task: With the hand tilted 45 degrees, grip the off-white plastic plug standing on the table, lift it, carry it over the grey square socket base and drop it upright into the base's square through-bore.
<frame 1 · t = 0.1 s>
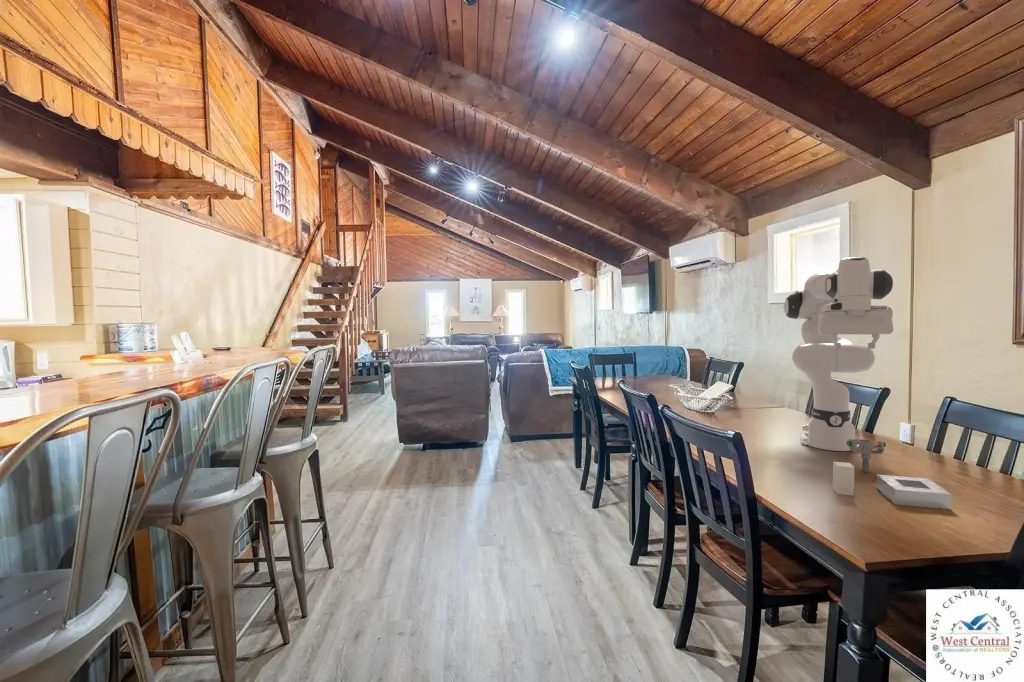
hand: (854, 348, 155), 39 cm above the table, tool pointing down, fingers open, 8 cm apart
grey square socket base: (911, 498, 130), on the table
mechanical component: (865, 472, 151), on the table
plug: (842, 492, 135), on the table
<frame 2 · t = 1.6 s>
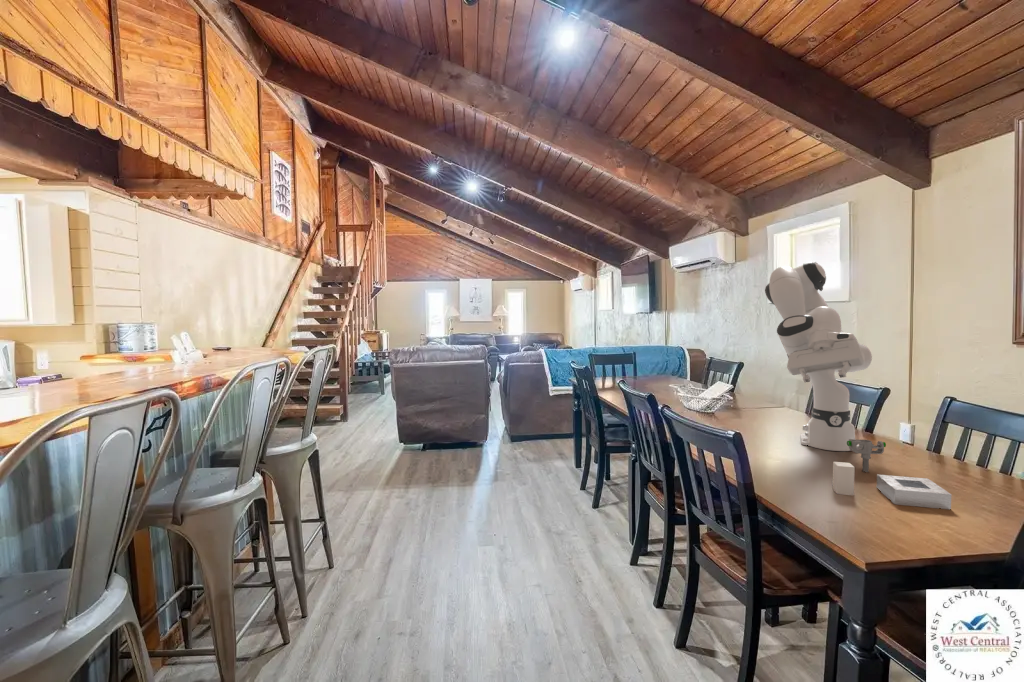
hand: (823, 378, 143), 31 cm above the table, tool tilted 50°, fingers open, 8 cm apart
nothing on the table moved.
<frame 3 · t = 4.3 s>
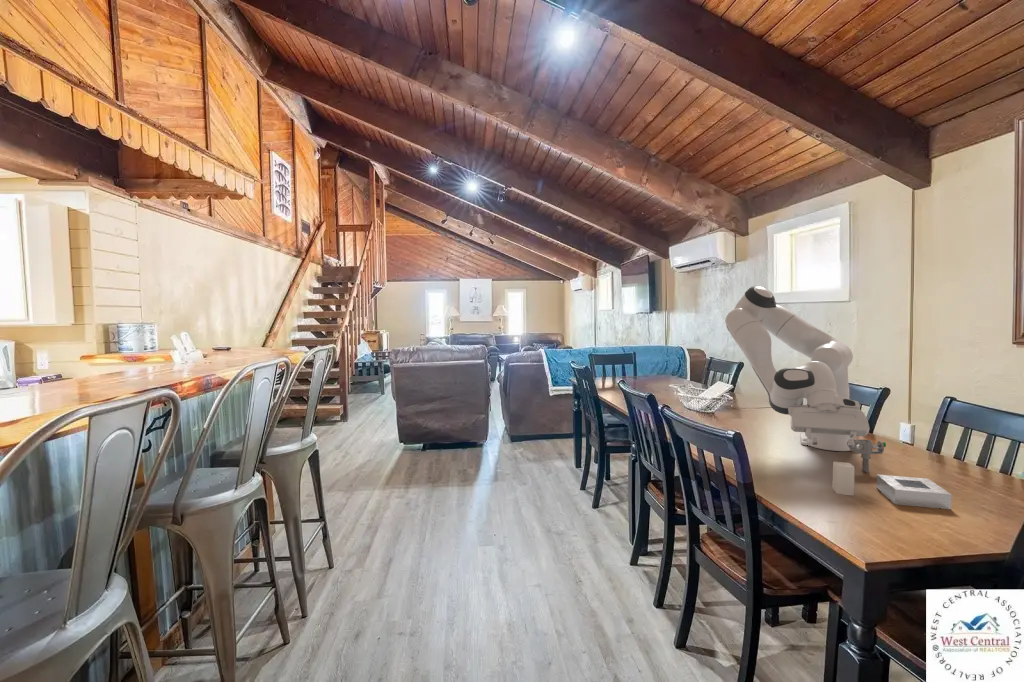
hand: (832, 445, 142), 11 cm above the table, tool tilted 45°, fingers open, 8 cm apart
nothing on the table moved.
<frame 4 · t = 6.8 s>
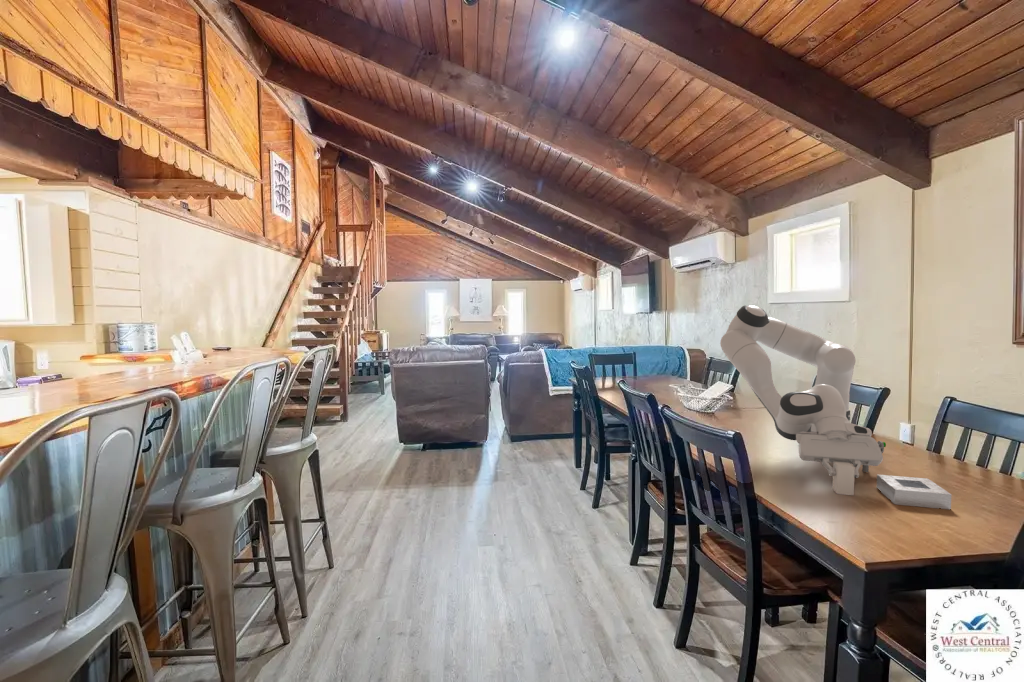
hand: (844, 475, 134), 5 cm above the table, tool tilted 45°, fingers closed on plug, 4 cm apart
plug: (842, 491, 135), on the table, touching gripper
everything else where it was.
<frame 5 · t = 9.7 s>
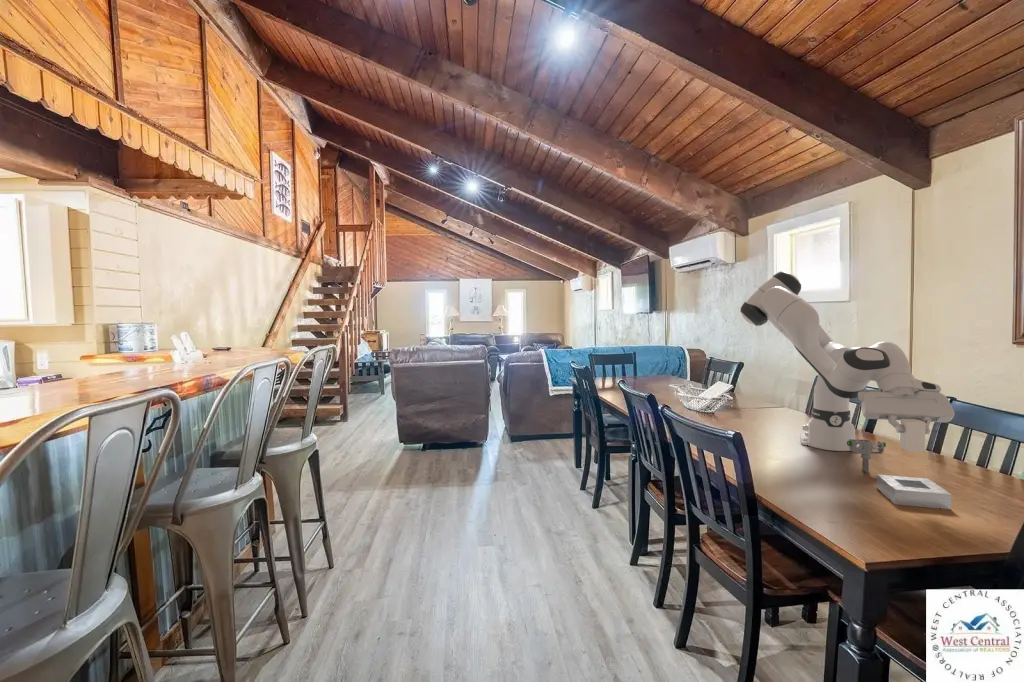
hand: (913, 432, 128), 18 cm above the table, tool tilted 45°, fingers closed on plug, 4 cm apart
plug: (911, 449, 129), point 13 cm above the table, touching gripper
everything else where it was.
when the fingers open (6 cm above the table, at t = 12.9 s): plug drops 2 cm, resting in grey square socket base.
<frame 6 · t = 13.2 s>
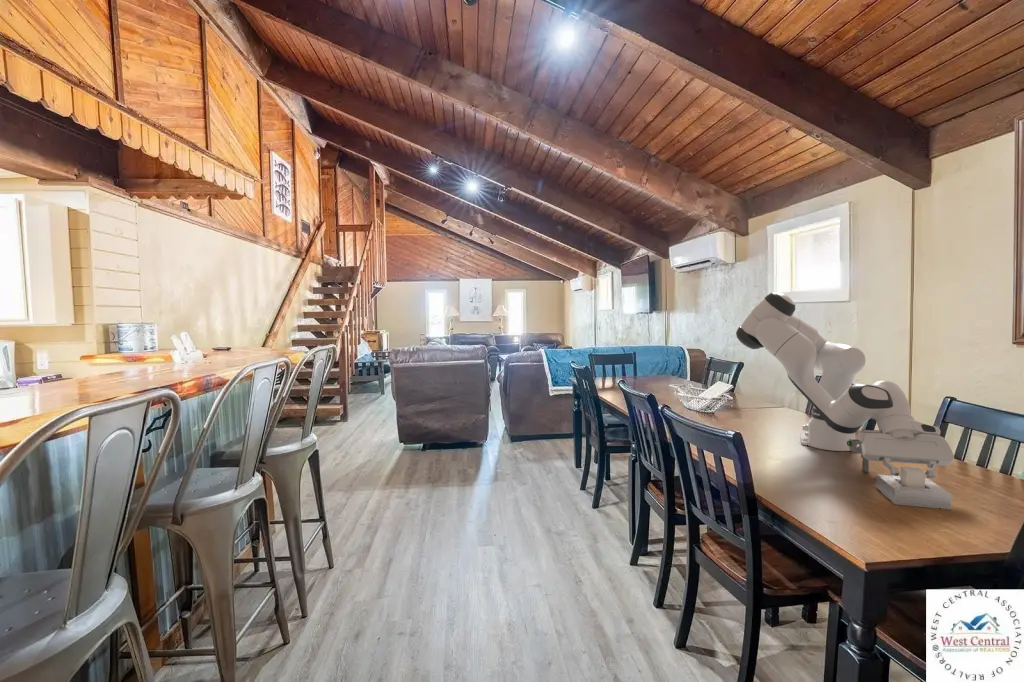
hand: (913, 476, 129), 6 cm above the table, tool tilted 45°, fingers open, 7 cm apart
plug: (911, 498, 130), resting in grey square socket base
everything else where it was.
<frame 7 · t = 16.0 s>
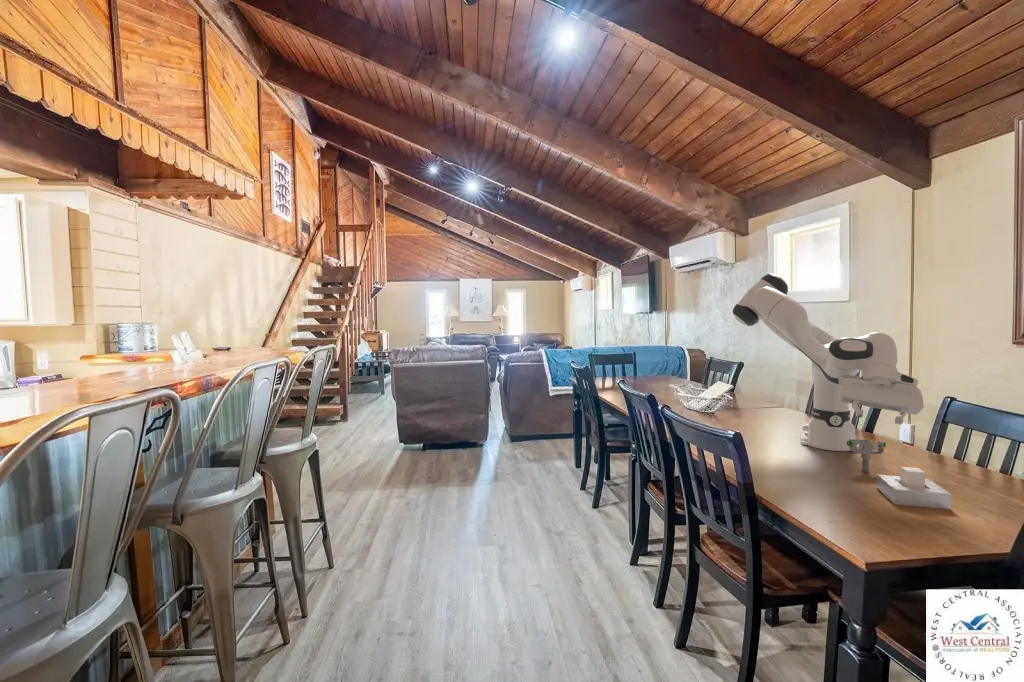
hand: (879, 419, 139), 19 cm above the table, tool tilted 40°, fingers open, 8 cm apart
nothing on the table moved.
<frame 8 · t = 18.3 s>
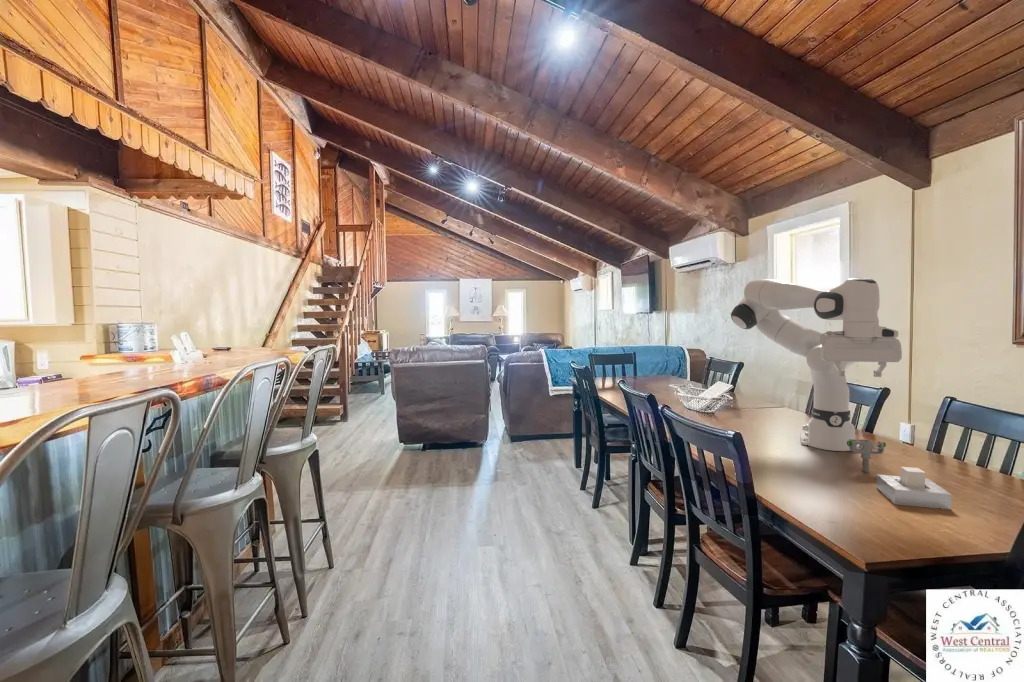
hand: (859, 376, 146), 31 cm above the table, tool pointing down, fingers open, 8 cm apart
nothing on the table moved.
at the end: plug 0.0 cm off-centre on the grey square socket base, point 0.0 cm above the grey square socket base's base; plug tilted 0°; the gripper is holding nothing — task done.
